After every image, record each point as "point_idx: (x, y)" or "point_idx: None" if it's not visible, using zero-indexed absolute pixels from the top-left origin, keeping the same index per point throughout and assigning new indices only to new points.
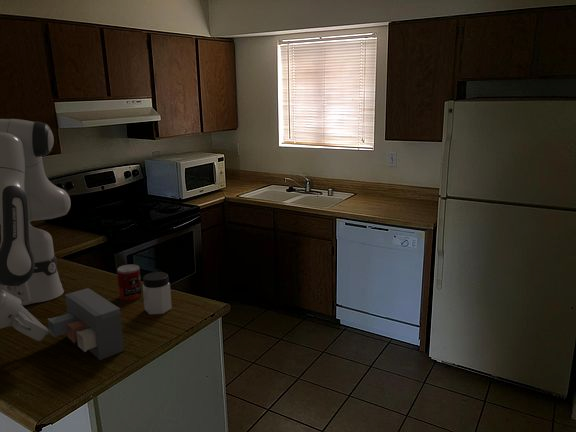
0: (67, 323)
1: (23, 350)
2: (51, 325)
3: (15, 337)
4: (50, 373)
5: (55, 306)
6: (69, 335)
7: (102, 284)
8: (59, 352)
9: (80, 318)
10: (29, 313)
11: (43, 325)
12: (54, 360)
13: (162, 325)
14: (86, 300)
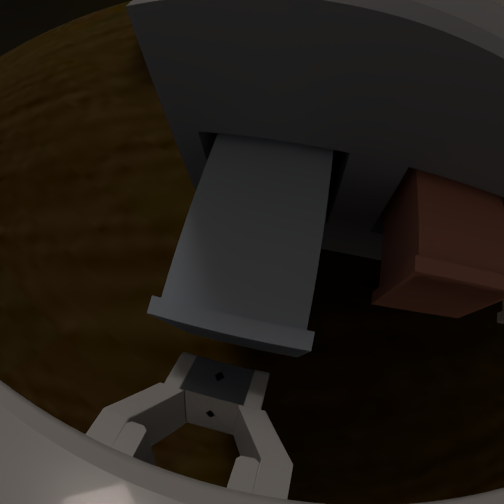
0: (420, 263)
1: (157, 460)
2: (244, 341)
3: (24, 380)
4: (469, 475)
5: (2, 153)
6: (411, 302)
7: (56, 44)
8: (350, 375)
9: (473, 171)
10: (20, 445)
11: (179, 380)
12: (400, 429)
13: None
14: (468, 12)
